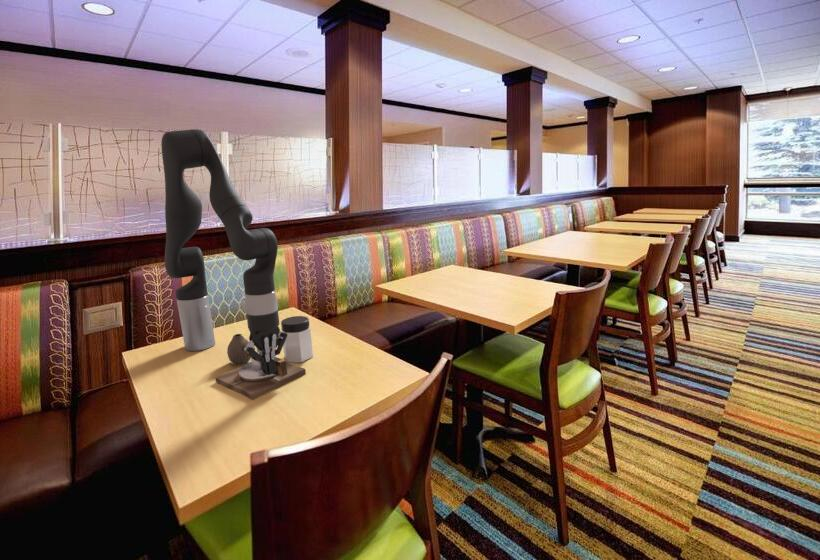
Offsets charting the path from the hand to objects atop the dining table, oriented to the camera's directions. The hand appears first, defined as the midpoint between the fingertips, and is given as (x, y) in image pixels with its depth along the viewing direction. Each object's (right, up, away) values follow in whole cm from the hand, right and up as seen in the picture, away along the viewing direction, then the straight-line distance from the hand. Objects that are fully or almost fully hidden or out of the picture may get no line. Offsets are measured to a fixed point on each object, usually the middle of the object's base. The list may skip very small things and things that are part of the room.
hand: (269, 373), depth 110 cm
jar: (+2, 0, +21) cm, 21 cm away
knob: (-3, -2, +6) cm, 7 cm away
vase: (-15, -1, +19) cm, 24 cm away
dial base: (-5, -3, +8) cm, 10 cm away
